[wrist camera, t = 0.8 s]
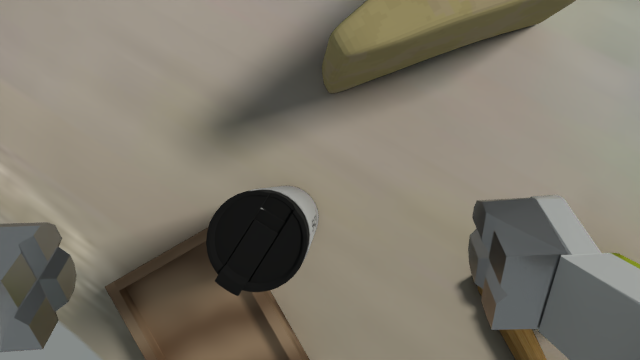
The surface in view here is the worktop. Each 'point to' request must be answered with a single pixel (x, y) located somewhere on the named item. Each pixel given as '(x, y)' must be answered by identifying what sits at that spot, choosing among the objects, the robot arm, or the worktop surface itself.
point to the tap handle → (521, 342)
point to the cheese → (418, 33)
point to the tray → (199, 311)
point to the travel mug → (261, 238)
